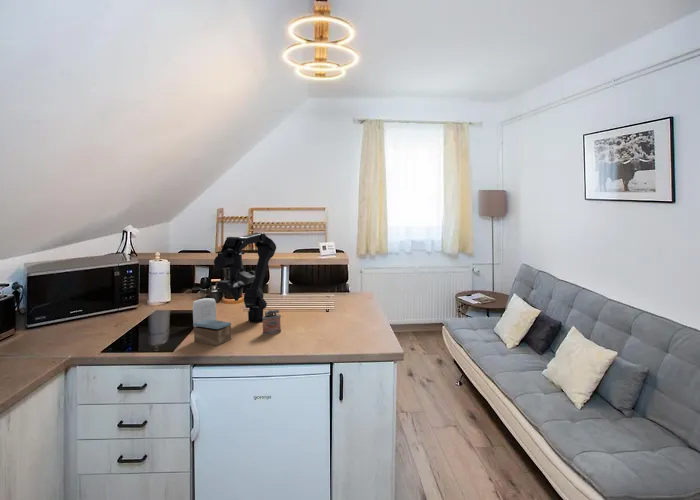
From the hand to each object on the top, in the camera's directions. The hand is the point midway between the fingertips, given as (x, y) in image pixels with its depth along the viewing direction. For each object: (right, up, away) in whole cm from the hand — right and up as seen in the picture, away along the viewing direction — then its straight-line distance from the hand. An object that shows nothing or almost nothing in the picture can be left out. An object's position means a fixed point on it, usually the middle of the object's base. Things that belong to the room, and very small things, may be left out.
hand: (236, 300), depth 186 cm
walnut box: (-6, -15, -13) cm, 20 cm away
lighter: (+16, -14, -3) cm, 21 cm away
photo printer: (-17, -12, +8) cm, 22 cm away
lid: (-6, -8, -13) cm, 17 cm away
